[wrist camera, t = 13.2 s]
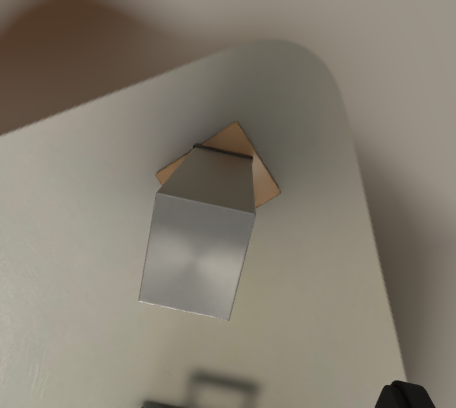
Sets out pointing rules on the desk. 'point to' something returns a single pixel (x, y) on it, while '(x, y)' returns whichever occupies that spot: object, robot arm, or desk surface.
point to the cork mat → (238, 143)
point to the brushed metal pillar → (200, 233)
